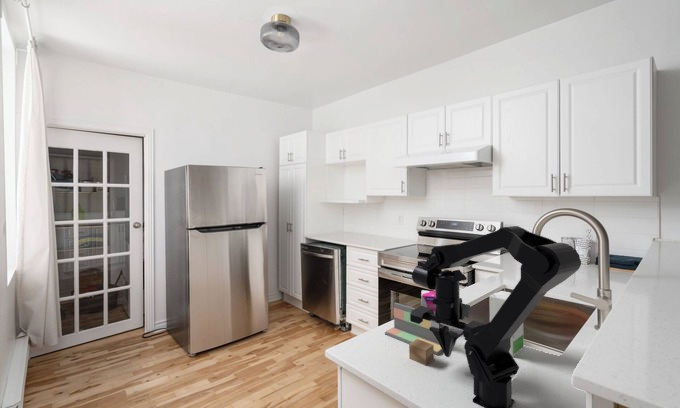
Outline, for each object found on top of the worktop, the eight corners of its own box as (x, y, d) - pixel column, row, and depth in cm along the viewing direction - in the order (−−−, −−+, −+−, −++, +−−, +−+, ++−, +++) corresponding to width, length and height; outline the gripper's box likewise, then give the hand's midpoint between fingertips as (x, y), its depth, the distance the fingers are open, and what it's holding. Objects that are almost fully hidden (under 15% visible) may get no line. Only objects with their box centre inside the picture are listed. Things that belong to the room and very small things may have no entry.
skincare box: (512, 358, 83) (512, 301, 83) (487, 349, 88) (487, 295, 88) (524, 348, 89) (524, 294, 88) (500, 339, 94) (500, 289, 93)
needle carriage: (437, 357, 84) (436, 342, 84) (425, 365, 80) (425, 350, 80) (420, 350, 88) (420, 336, 88) (409, 358, 84) (409, 343, 84)
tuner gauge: (447, 348, 89) (447, 317, 89) (436, 356, 85) (436, 324, 85) (396, 329, 102) (395, 302, 102) (384, 335, 98) (384, 307, 98)
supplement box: (420, 329, 102) (420, 295, 101) (421, 322, 107) (421, 289, 107) (439, 331, 100) (439, 296, 100) (439, 324, 106) (438, 290, 105)
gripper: (498, 295, 76) (499, 357, 77) (430, 281, 89) (431, 334, 90) (480, 307, 68) (480, 376, 69) (408, 290, 82) (409, 347, 82)
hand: (447, 356), depth 78 cm, fingers closed
